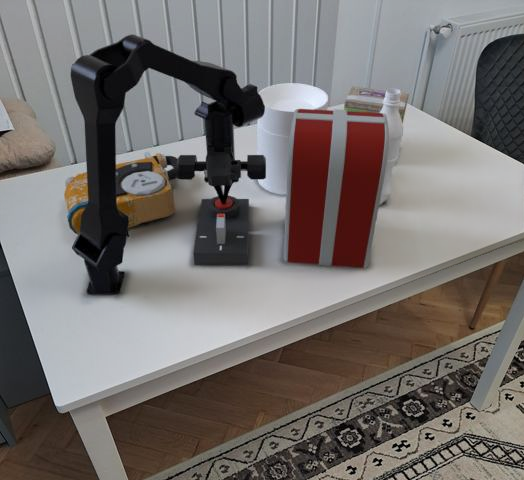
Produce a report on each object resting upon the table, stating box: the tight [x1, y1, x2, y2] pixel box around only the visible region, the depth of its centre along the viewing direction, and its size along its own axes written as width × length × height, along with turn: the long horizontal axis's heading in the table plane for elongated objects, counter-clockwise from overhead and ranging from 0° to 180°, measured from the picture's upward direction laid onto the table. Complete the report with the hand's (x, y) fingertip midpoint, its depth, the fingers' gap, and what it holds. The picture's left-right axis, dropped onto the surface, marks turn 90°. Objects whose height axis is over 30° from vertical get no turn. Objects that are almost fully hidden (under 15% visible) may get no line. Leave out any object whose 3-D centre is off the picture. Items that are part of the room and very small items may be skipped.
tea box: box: [343, 86, 410, 124], centre depth 136 cm, size 15×10×15 cm
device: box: [63, 151, 178, 235], centre depth 121 cm, size 23×8×30 cm
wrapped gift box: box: [283, 108, 389, 269], centre depth 104 cm, size 16×18×27 cm
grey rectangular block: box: [216, 214, 226, 244], centre depth 108 cm, size 5×2×4 cm, turn 1°
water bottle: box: [379, 87, 404, 206], centre depth 116 cm, size 7×7×25 cm
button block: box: [197, 195, 250, 232], centre depth 118 cm, size 10×11×4 cm
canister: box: [256, 82, 329, 196], centre depth 125 cm, size 16×16×20 cm
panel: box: [192, 222, 249, 266], centre depth 111 cm, size 11×11×3 cm
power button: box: [215, 198, 233, 209], centre depth 117 cm, size 4×4×2 cm
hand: (223, 202), depth 117 cm, fingers closed, pressing on power button
